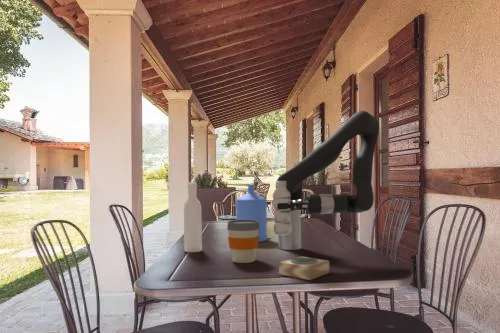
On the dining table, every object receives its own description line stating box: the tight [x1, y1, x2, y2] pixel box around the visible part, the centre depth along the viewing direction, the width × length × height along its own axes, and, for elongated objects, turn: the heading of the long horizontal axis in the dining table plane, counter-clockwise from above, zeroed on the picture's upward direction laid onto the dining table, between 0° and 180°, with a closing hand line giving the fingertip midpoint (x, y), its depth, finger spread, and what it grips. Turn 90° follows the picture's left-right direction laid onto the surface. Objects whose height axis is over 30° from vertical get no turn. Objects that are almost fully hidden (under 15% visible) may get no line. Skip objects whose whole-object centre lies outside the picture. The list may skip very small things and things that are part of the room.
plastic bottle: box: [272, 180, 292, 236], centre depth 149 cm, size 6×7×20 cm
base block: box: [278, 255, 330, 281], centre depth 135 cm, size 12×12×4 cm
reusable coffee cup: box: [226, 219, 260, 264], centre depth 157 cm, size 13×13×15 cm
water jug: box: [235, 184, 268, 243], centre depth 205 cm, size 16×16×28 cm
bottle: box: [183, 182, 203, 253], centre depth 178 cm, size 8×8×30 cm
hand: (275, 205), depth 149 cm, fingers closed on plastic bottle, 6 cm apart
